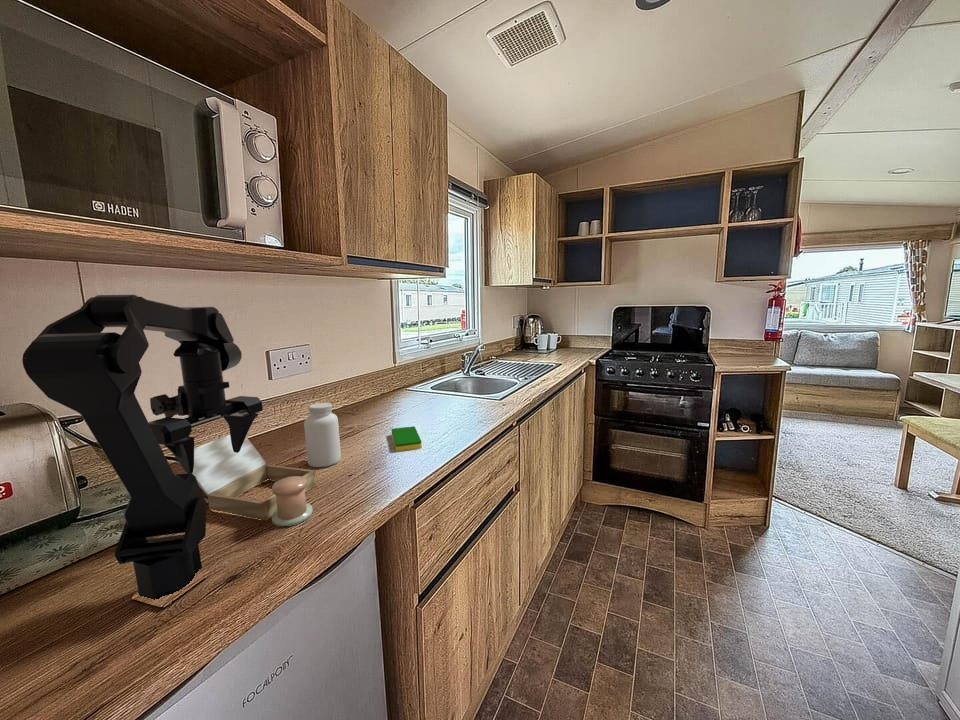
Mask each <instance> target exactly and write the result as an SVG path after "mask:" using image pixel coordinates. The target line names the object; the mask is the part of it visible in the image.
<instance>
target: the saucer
mask: <svg viewBox="0 0 960 720" xmlns="http://www.w3.org/2000/svg"><path fill="white" fill-rule="evenodd" d="M306 507H307V511H306V512H305V513H304V514H303V515H301V516H300V517H297V518H294V519H290V520H282V519H279V518H278V513H277V511H276V512H274V514H273V515H272V516H271V521H272V524H273V525H274V524H275V525H277V526H276V527H279V526H289V527H292V525H294V526H297V525H300V524H302V523H304V522H306V521H307V520H308V519H310V518H309V517H310V516H311V517H312V516H313V513H312V512H313V511H314V510H313V506H312V505H311V504H310V503H309V502H306ZM305 520H306V521H305ZM303 521H304V522H303ZM301 522H302V523H301ZM299 523H300V524H299ZM296 524H297V525H296ZM275 525H274V526H275Z"/></svg>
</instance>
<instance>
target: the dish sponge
mask: <svg viewBox="0 0 960 720" xmlns="http://www.w3.org/2000/svg"><path fill="white" fill-rule="evenodd" d="M391 438H392V441H393V446H394V449H395V452H403V451H410V450H412V451H413V450H418V449H419V450H420V449H422V447H423V446H422V445H423V444H422V440H421V437H420V435H419V433H418V431H417V428H416V426H413V425H412V426H405V427H396V428H391Z"/></svg>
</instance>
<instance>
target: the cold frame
mask: <svg viewBox="0 0 960 720" xmlns="http://www.w3.org/2000/svg"><path fill="white" fill-rule="evenodd" d="M192 474H193V475H194V476H195V477H196V479H197V483H198V485H199V487H200V488H201V489H202V490H203V491H202V492H204V494H205V495H206V496H207V500H208V506H209V510H210V509H213V510H217V511H223V512H228V513H232V514H238V515H242V516H246V517H252V518H257V519H261V520H260V521H262V520H266V519H267V520H269V519H270V518H271V517H272V515H273V514H274V512H276V511H277V504H276V495H275V494H274V493H273V494H272V495H270V496H269V497H268V498H266V499H264V500H263V501H262V500H256V499H250V498H244V497H236V496H238V495H239V494H241V493H243V492H245V491H247V490H249V489H250V488H252V487H254V486H256V485H258V484H260V483H262V482H263V481H265V480H267V479H271V480H277V481H279V480H281V479H284V478H287V477H292V476H301V477H304V478H306V483H307V485H306V487H305V492H306V493H307V492H309V491H310V490H312V489H313V488H315V487H316V486H317V477H316V469H314V470H313V469H305V468H297V467H291V466H290V467H289V466H283V465H282V466H281V465H274V464H268V463H267V462H266V460H265V459H264V458H263V456H262V455H261V454H260V453H259V451H258V450H257V448H256V447H255V446H254V444H252V442H251V441H250V440H249V439H248V437H247V436H246V437H245V440H244V442H243V445H242V447H241V449H240V452H238V453H236V452H234V451H233V448H232V444H231V437H230V434H228V435H225V436H222V437H220V438H217V439H214V440H212V441H209V442H206V443H204V444H201V445H199V446H197V447H194V469H193V473H192ZM267 481H268V480H267ZM277 481H276V482H277ZM262 484H263V483H262ZM260 485H261V484H260ZM315 485H316V486H315ZM314 486H315V487H314ZM312 487H313V488H312ZM311 488H312V489H311ZM308 490H309V491H308ZM270 516H271V517H270ZM269 517H270V518H269ZM267 520H266V521H267Z"/></svg>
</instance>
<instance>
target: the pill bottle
mask: <svg viewBox="0 0 960 720" xmlns="http://www.w3.org/2000/svg"><path fill="white" fill-rule="evenodd" d="M332 410H333V405H332V403H330V402H317V403H314V404H313V403H312V404H311V405H310V404H309V407H308V411H309V412H308V414H309V416H307V417H306V418H305V419H304V422H303V425H304V436H305V438H304V439H305V446H306V457H307V458H306V459H307V464H308V466H310V467H312V468H326V467H330V466H333V465H336V464H338V463H339V462H340V461H341V459H342V453H341V452H342V451H341V441H340V428H339V419H338V416H337V415H336V414H335V413H333V412H332Z"/></svg>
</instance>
